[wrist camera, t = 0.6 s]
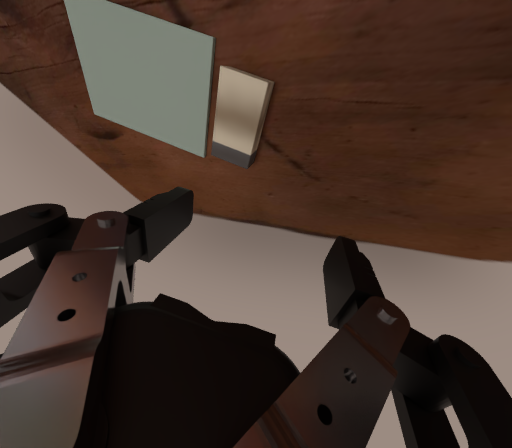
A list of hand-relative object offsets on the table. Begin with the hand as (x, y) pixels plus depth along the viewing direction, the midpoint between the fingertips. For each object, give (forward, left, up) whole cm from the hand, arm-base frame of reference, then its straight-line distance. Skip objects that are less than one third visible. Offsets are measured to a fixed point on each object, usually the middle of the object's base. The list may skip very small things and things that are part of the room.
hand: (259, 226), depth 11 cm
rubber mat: (0, -23, -19) cm, 30 cm away
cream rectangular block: (0, -8, -19) cm, 21 cm away
